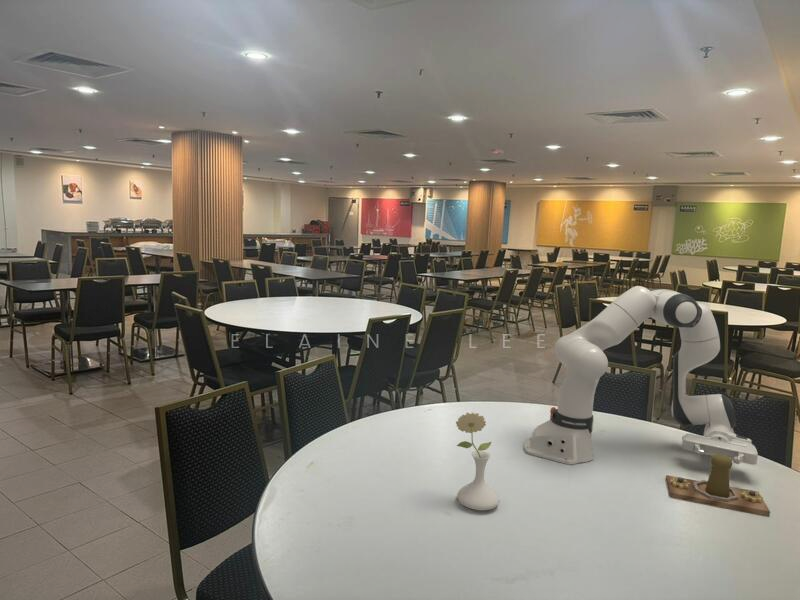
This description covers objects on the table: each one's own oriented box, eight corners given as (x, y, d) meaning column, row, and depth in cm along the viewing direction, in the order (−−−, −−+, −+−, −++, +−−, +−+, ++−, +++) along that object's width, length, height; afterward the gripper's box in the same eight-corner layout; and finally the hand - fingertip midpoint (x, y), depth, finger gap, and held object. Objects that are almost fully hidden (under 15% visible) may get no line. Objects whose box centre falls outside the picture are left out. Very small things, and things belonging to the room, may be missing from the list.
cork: (731, 500, 149) (736, 462, 148) (707, 495, 151) (711, 458, 150) (727, 490, 155) (731, 454, 153) (703, 486, 157) (707, 450, 155)
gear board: (670, 497, 152) (671, 485, 152) (665, 479, 163) (667, 468, 163) (769, 516, 144) (771, 503, 144) (757, 496, 155) (759, 484, 155)
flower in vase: (502, 498, 148) (508, 410, 145) (495, 518, 137) (502, 424, 134) (456, 488, 152) (461, 403, 149) (446, 508, 141) (451, 416, 138)
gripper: (683, 426, 179) (680, 439, 167) (757, 440, 168) (759, 455, 156) (681, 444, 179) (678, 458, 168) (754, 459, 169) (756, 476, 157)
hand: (718, 457), depth 162 cm, fingers open, 8 cm apart
